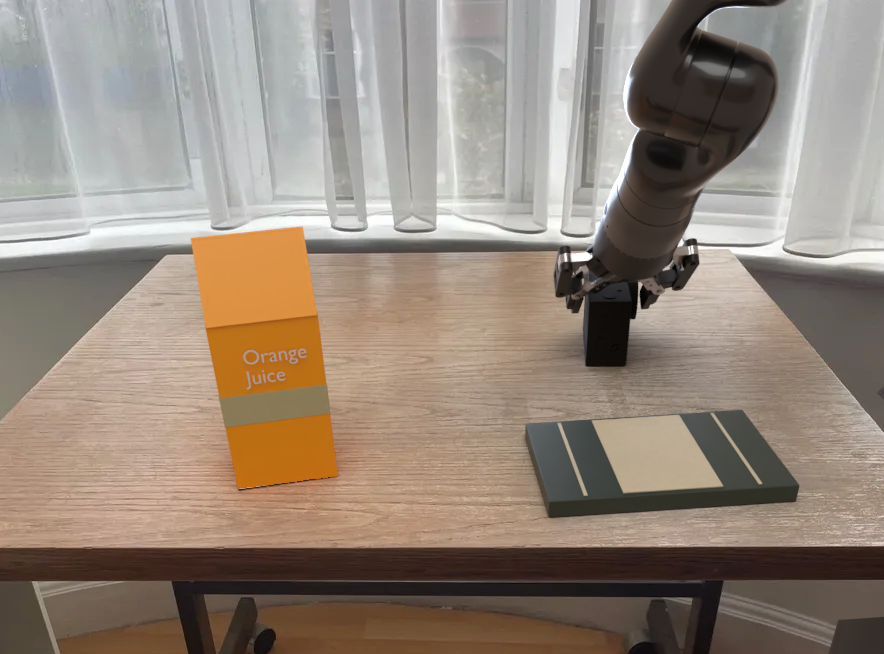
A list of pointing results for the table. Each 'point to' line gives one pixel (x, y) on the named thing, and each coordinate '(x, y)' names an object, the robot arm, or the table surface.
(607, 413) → the table surface
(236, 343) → the orange juice
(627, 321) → the digital camera
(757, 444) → the board
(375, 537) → the table surface
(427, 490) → the table surface
